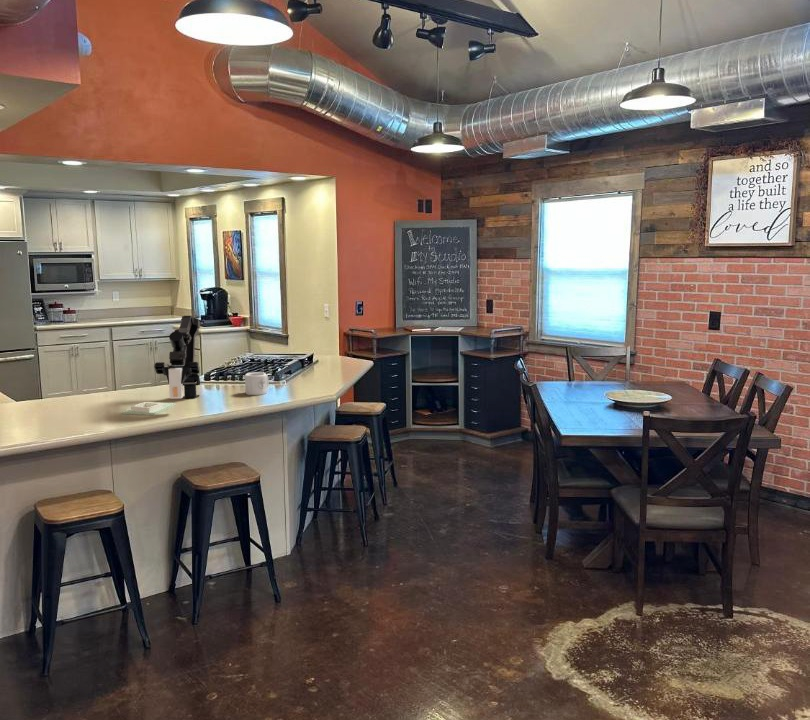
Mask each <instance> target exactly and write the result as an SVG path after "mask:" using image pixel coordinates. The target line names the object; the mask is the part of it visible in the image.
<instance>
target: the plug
mask: <svg viewBox="0 0 810 720" xmlns="http://www.w3.org/2000/svg"><path fill="white" fill-rule="evenodd" d="M181 379H182V368H170V369H169V383H168V388H169V399H172V400H173V399H183V398H182V397H183V396H184V386H183V384H181Z"/></svg>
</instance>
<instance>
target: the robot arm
mask: <svg viewBox="0 0 810 720" xmlns="http://www.w3.org/2000/svg"><path fill="white" fill-rule="evenodd" d="M200 329H201V321H200V320H199V318H197V317H194V316H193V315H182V316H181V319H180V325H179V328H178V329H174V331H172V332H171V333H170V334H169V335H168V338H169V341H170V342H169V343H170V344H171V347H172V351H169V352H168V353H169V357H168V358H169V364H167V363H165V362H164V361H157V362H155V363H154V366H153V368H154V370H155V374H157V375H164V376H166V379H167V383H168V384H169V369H170V368H182V379H181V384H183V397H182V398H181V399H196V398H198V397H200V394H197V386H201V379H200V375H199V374H200V371H201V369H200V363H199V362H198V361H195V350H196V349H195V348H196V337H197V335H199V331H200Z"/></svg>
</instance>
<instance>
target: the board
mask: <svg viewBox="0 0 810 720" xmlns="http://www.w3.org/2000/svg"><path fill="white" fill-rule="evenodd" d="M150 402H151V403H159V401H158V402H157V401H156V402H154V401H153V402H152V401H150ZM161 403H162V404H163V408H161V409H158V410H155V411H152V412H139V411H131V407H130V408H127V409H125V410H123V411H122V412H121V414H122V415H138V416H139V415H140V416H141V415H142V416H143V415H145V416H156V415H158V414H161V413H162V412H164V411H166V410H168V409H170V408H172V407H174V406H176V403H175V402H161Z"/></svg>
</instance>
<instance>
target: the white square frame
mask: <svg viewBox="0 0 810 720" xmlns="http://www.w3.org/2000/svg"><path fill="white" fill-rule="evenodd" d="M151 402H152V401H143V402H140V403H137V404H134V405H131V406H130V408H131V411H139V412H152V411H155V410H158V409H161V408H163V404H162V403H163V402H158V403H151Z"/></svg>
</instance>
